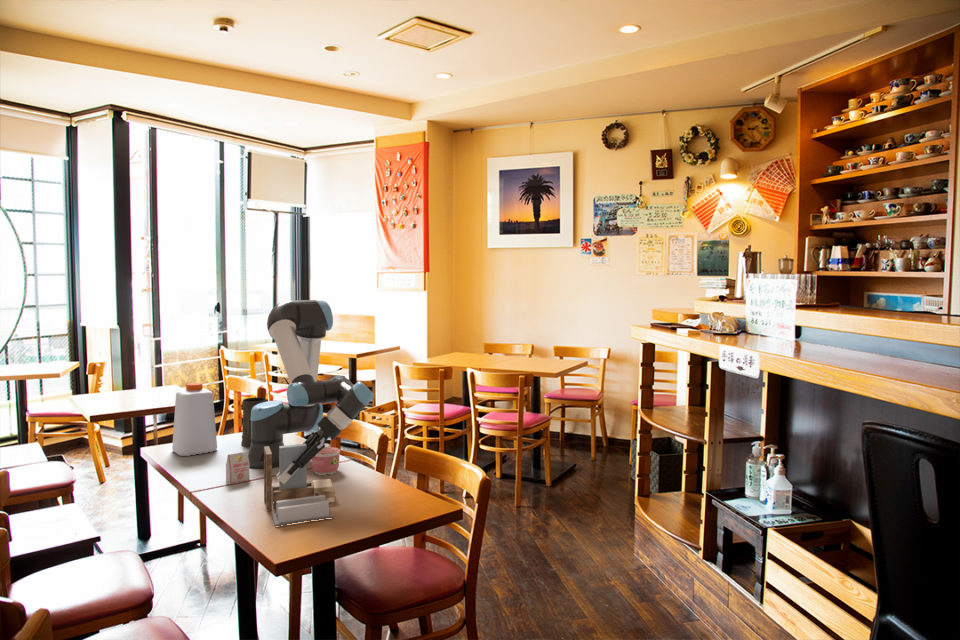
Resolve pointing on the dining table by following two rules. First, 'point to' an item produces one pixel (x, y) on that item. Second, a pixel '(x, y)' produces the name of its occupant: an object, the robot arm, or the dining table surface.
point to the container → (326, 461)
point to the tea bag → (237, 468)
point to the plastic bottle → (194, 421)
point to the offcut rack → (275, 494)
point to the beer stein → (248, 418)
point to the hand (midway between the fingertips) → (280, 479)
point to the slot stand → (301, 510)
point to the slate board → (286, 458)
